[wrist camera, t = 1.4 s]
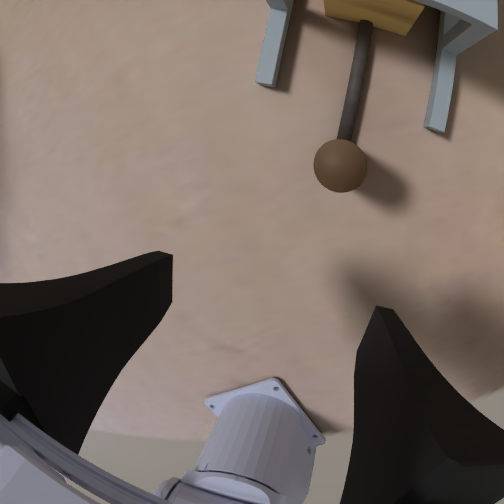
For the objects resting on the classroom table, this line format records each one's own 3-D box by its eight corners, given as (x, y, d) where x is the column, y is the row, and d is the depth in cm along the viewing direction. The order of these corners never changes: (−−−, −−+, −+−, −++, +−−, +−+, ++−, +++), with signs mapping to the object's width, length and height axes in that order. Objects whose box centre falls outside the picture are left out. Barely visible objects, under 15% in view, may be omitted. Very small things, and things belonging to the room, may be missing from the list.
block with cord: (335, -42, 13) (332, -83, 9) (411, -23, 12) (427, -60, 8) (293, 168, 19) (280, 177, 14) (373, 190, 18) (386, 206, 14)
